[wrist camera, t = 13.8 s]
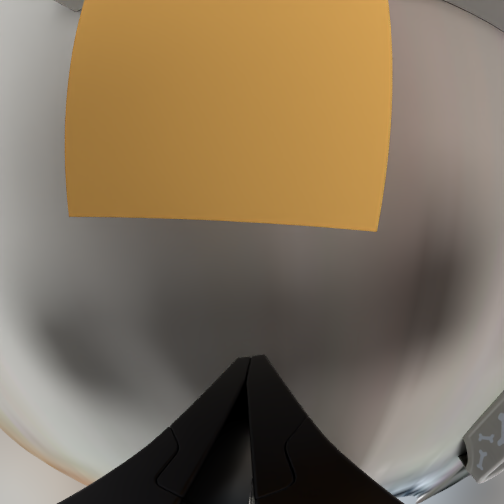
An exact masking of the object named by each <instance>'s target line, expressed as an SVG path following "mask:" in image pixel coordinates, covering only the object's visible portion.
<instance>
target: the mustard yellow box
mask: <svg viewBox="0 0 504 504" xmlns="http://www.w3.org/2000/svg"><path fill="white" fill-rule="evenodd" d="M391 110H392V42H391V26H390V14H389V4H388V0H84V3H83V7H82V11H81V15H80V19H79V23H78V27H77V31H76V36H75V41H74V46H73V52H72V58H71V65H70V72H69V80H68V89H67V100H66V116H65V174H66V190H67V202H68V212H69V217H129V218H166V219H193V220H216V221H236V222H254V223H271V224H286V225H301V226H314V227H327V228H340V229H352V230H363V231H374V232H377V228H378V223H379V217H380V211H381V205H382V199H383V192H384V185H385V178H386V170H387V161H388V151H389V140H390V127H391Z"/></svg>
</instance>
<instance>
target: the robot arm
mask: <svg viewBox="0 0 504 504" xmlns="http://www.w3.org/2000/svg"><path fill="white" fill-rule="evenodd" d="M170 427H171V428H170ZM170 427H168V428H167V429H165V430H164V431H163V432H162V433H161V434H160V435H159V436H158V437H157V438H155V439H154V440H153V441H152V442H151V443H150V444H148V445H147V446H146V447H145V448H143V449H142V450H141V451H139V452H138V453H137V454H135V455H134V456H133V457H131V458H130V459H128V460H127V461H126V462H124V463H123V464H121V465H120V466H118V467H117V468H115V469H114V470H112V471H111V472H109V473H108V474H106V475H104V476H103V477H101V478H100V479H98V480H97V481H95V482H93V483H92V484H90V485H89V486H87V487H86V488H84V489H82V490H80V491H79V492H77V493H75V494H73V495H72V496H70V497H68V498H66V499H65V500H63V501H61V502H59V503H57V504H249V497H251V504H404V503H403V502H401V501H400V500H399V499H397V498H396V497H395V496H393V495H392V494H391V493H389V492H388V491H387V490H385V489H384V488H383V487H382V486H380V485H379V484H378V483H377V482H375V481H374V480H373V479H372V478H370V477H369V476H368V475H367V474H366V473H364V472H363V471H362V470H361V469H360V468H358V467H357V466H356V465H355V464H354V463H353V462H351V461H350V460H349V459H348V458H347V457H346V456H344V455H343V454H342V453H341V452H340V451H339V450H338V449H337V448H336V447H335V446H334V445H333V444H332V443H331V442H330V441H329V440H328V439H327V438H326V437H325V436H324V435H323V434H322V432H321V431H320V430H319V429H318V428H317V426H316V425H315V424H314V422H313V421H312V420H311V418H309V417H308V415H307V414H306V412H305V411H304V410H303V408H302V407H301V405H300V404H299V403H298V401H297V400H296V399H295V397H294V396H293V394H292V393H291V392H290V390H289V389H288V387H287V386H286V385H285V383H284V382H283V380H282V379H281V378H280V376H279V375H278V373H277V372H276V370H275V369H274V368H273V366H272V365H271V363H270V362H269V360H268V359H267V357H266V356H265V355H257V356H252V357H242V358H238V359H236V360H235V361H234V362H233V364H232V365H231V366H230V367H229V368H228V369H227V370H226V371H225V372H224V373H223V374H222V375H221V376H220V377H219V378H218V379H217V380H216V381H215V382H214V383H213V384H212V385H211V386H210V387H209V388H208V389H207V390H206V391H205V392H204V393H203V394H202V395H201V396H200V397H199V398H198V399H197V400H196V401H195V402H194V403H193V404H192V405H191V406H190V407H189V408H188V409H187V410H186V411H185V412H184V413H183V414H182V415H181V416H180V417H179V418H178V419H177V420H176V421H175V422H174V423H172V424H171V425H170ZM252 476H253V479H252Z"/></svg>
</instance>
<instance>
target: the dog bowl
mask: <svg viewBox="0 0 504 504" xmlns="http://www.w3.org/2000/svg"><path fill="white" fill-rule="evenodd" d="M463 440H464V442H465V445H466V449H467V455H464V456H458V457H459V459H460V460H461V462H462V463H463V465H464V467H465V469H466V470H467V471H468V472H469V473H470V474H471V475H472V476H473V478H474V479H475V480H476V482H477V483H483V482H485V481H487V480H489V479H491V478H493V477H494V476H496V475H497V474H499V473H500V472H502V471H504V391H503V392H502V393H501V394H500V395H499V396H498V397H497V399H496V400H495V401H494V402H493V403H492V404H491V405H490V406H489V407H488V409H487V410H486V411H485V412H484V413H483V414H482V415H481V416H480V418H479V419H478V420H477V421H476V422H475V423H474V424H473V426H472V427H471V428H470V429H469V430H468V431H467V433H466V434H465V435H464V436H463Z"/></svg>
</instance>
